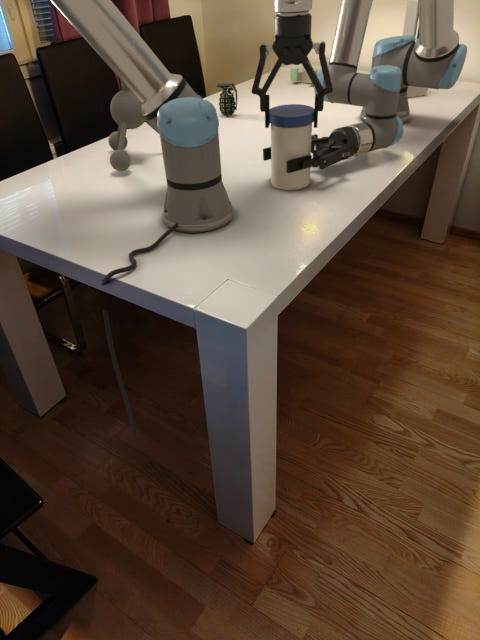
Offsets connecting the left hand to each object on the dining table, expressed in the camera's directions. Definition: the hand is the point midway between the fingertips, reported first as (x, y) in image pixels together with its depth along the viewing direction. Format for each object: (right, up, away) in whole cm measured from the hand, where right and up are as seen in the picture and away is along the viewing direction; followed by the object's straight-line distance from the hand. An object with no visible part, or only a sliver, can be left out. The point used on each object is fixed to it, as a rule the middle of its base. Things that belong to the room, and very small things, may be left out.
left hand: (291, 126), depth 112 cm
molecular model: (-39, +2, +28) cm, 48 cm away
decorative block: (+21, +58, +94) cm, 113 cm away
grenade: (-16, +26, +57) cm, 65 cm away
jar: (+1, -11, +8) cm, 14 cm away
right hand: (-4, -7, +3) cm, 8 cm away
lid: (0, +2, -2) cm, 3 cm away
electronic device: (+50, +38, +67) cm, 92 cm away
